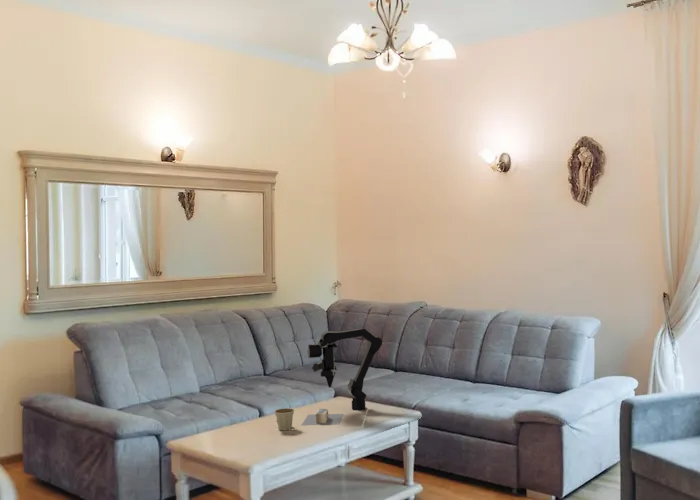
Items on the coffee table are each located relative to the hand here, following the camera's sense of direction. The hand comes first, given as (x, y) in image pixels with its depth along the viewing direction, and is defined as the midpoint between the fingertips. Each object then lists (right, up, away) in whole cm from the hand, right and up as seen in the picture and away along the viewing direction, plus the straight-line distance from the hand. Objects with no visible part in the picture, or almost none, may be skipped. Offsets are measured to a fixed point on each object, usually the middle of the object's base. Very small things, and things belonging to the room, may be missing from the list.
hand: (329, 387), depth 353 cm
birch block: (-3, -10, -12) cm, 16 cm away
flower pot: (-20, -14, -27) cm, 37 cm away
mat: (-3, -13, -15) cm, 20 cm away
